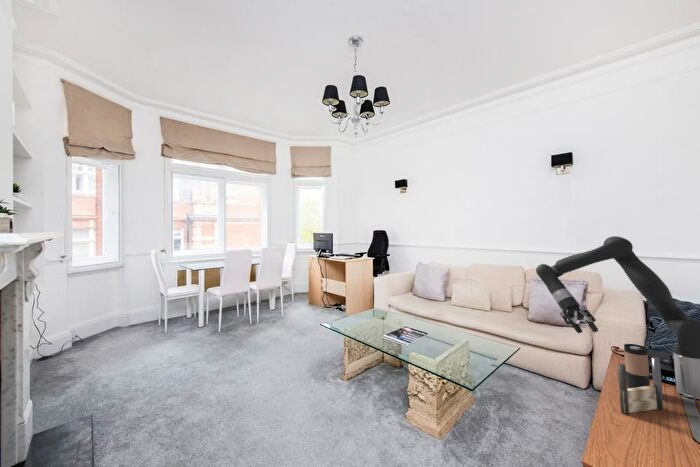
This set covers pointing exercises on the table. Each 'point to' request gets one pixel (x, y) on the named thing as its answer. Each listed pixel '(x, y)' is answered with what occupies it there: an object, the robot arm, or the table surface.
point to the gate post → (657, 381)
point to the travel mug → (636, 365)
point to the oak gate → (635, 395)
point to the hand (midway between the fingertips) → (588, 332)
